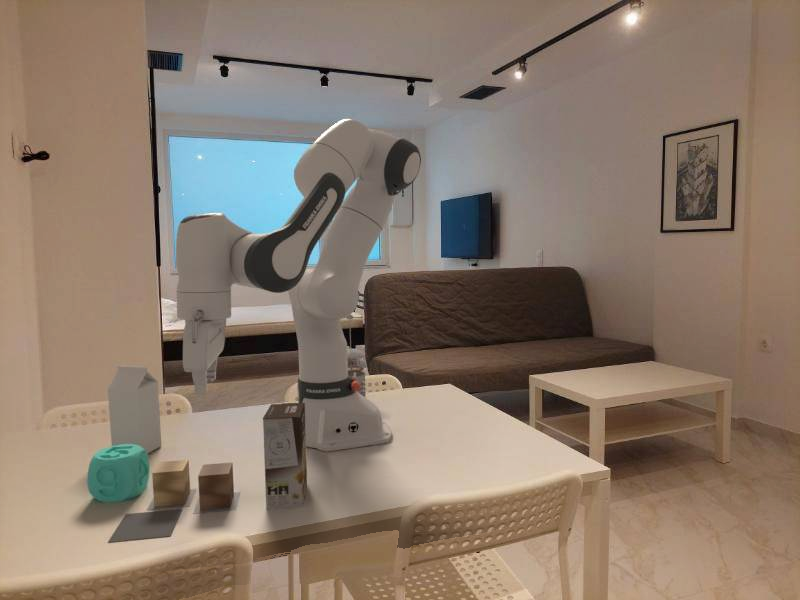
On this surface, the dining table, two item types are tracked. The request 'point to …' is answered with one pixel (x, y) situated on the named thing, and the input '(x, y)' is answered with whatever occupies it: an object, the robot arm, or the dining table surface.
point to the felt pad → (146, 525)
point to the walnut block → (216, 486)
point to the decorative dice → (118, 473)
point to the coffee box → (285, 455)
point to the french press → (358, 369)
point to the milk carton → (134, 408)
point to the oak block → (171, 483)
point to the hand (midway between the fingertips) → (205, 387)
